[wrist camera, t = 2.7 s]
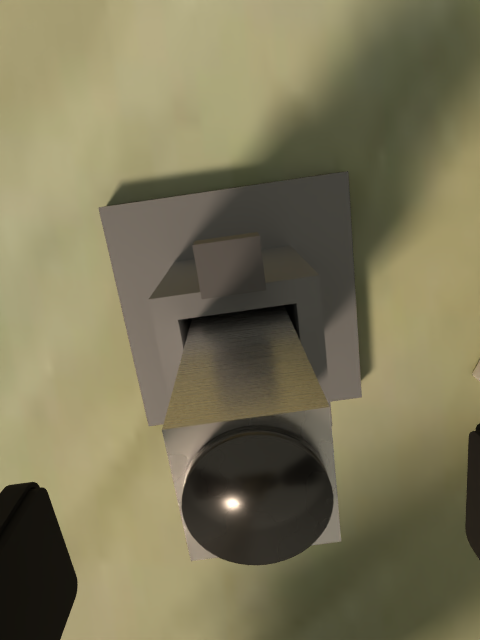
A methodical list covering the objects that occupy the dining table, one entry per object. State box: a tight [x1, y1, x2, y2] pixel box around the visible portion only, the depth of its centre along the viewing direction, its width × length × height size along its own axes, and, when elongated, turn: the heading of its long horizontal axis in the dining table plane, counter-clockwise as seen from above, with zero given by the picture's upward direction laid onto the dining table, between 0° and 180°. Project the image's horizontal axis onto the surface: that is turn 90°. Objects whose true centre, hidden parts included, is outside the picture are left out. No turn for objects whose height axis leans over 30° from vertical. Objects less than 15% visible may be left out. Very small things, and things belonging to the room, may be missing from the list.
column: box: [162, 305, 341, 565], centre depth 18 cm, size 4×4×17 cm
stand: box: [99, 171, 362, 426], centre depth 22 cm, size 14×14×11 cm
